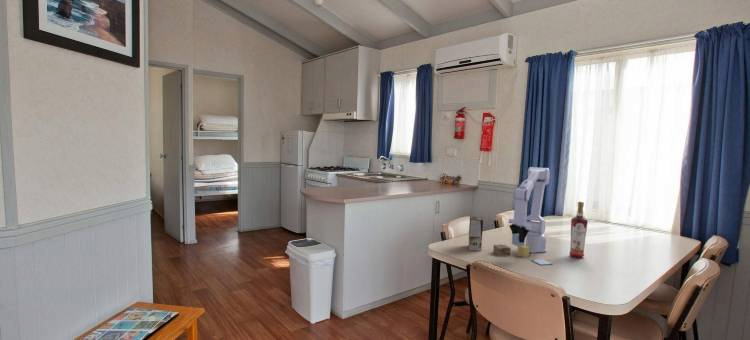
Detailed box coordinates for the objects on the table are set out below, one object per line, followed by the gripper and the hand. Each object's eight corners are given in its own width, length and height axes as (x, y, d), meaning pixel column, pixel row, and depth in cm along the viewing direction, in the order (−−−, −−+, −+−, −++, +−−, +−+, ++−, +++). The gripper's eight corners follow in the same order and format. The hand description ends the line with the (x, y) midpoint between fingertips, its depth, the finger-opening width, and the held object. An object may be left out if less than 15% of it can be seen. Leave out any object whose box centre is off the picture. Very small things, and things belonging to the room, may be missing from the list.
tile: (542, 259, 181) (542, 259, 181) (552, 264, 175) (552, 263, 175) (530, 260, 179) (530, 259, 179) (540, 265, 173) (540, 264, 173)
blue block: (518, 243, 182) (519, 233, 181) (524, 245, 178) (524, 235, 178) (511, 243, 181) (512, 233, 180) (517, 246, 177) (517, 235, 177)
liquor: (569, 257, 186) (573, 202, 184) (567, 253, 193) (571, 200, 191) (585, 259, 184) (590, 203, 181) (583, 255, 190) (587, 201, 188)
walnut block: (504, 252, 193) (504, 244, 193) (510, 255, 187) (510, 247, 187) (493, 252, 192) (493, 244, 192) (499, 256, 186) (499, 248, 186)
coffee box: (481, 251, 193) (483, 220, 191) (468, 250, 194) (470, 219, 193) (480, 246, 202) (482, 217, 200) (468, 245, 203) (469, 216, 201)
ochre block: (522, 254, 190) (523, 244, 189) (529, 256, 186) (529, 246, 186) (517, 255, 188) (517, 245, 187) (523, 257, 184) (524, 247, 184)
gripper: (503, 210, 184) (502, 237, 185) (523, 216, 170) (521, 245, 171) (516, 210, 186) (514, 236, 187) (536, 216, 172) (534, 244, 173)
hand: (518, 241), depth 179 cm, fingers closed on blue block, 4 cm apart
